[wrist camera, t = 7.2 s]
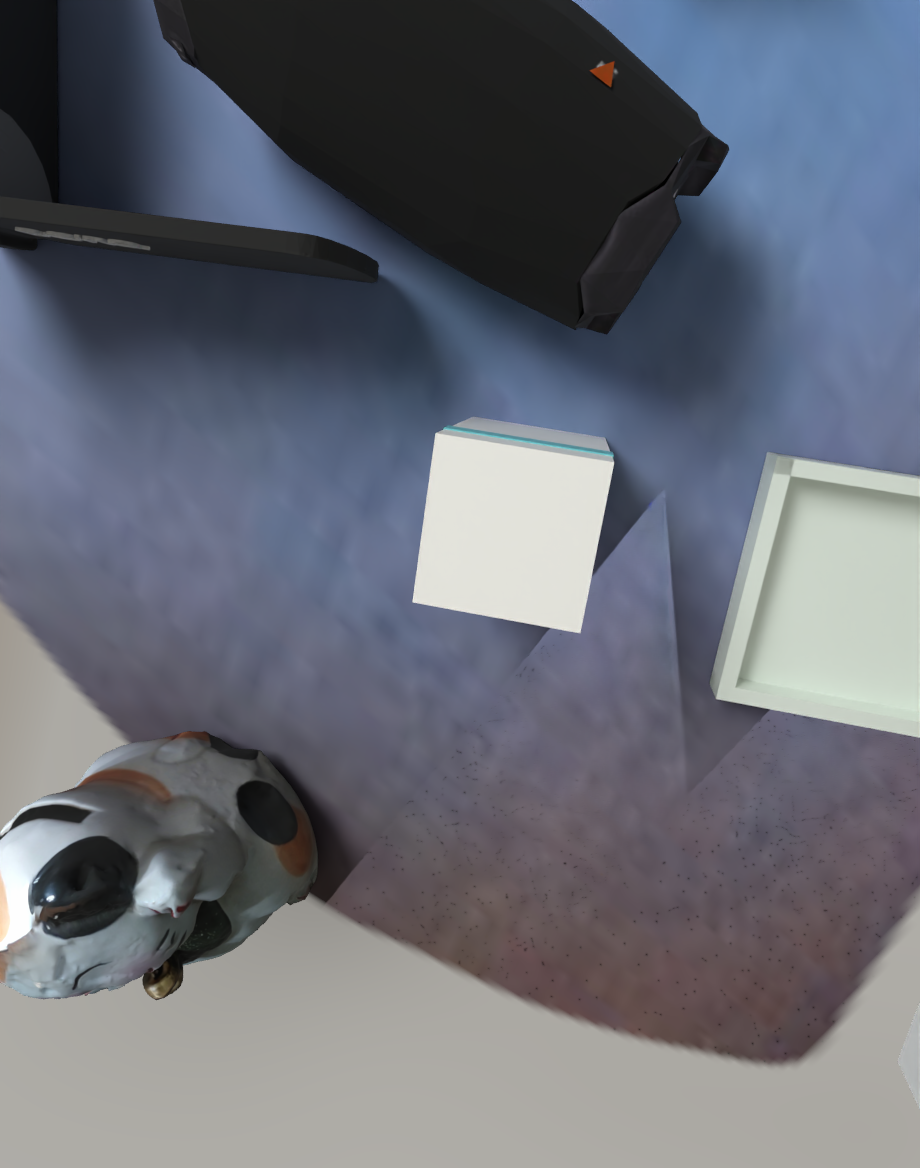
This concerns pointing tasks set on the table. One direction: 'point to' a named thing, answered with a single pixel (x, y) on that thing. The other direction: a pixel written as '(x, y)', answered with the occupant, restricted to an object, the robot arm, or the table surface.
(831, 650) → the tray
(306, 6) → the portable speaker
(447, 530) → the block
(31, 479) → the table surface
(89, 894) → the lucky cat figurine
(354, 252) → the camcorder
